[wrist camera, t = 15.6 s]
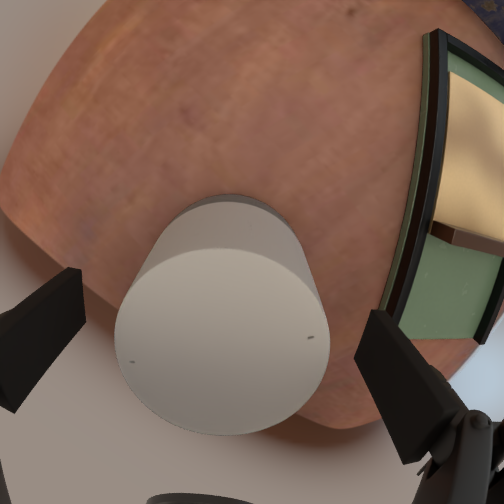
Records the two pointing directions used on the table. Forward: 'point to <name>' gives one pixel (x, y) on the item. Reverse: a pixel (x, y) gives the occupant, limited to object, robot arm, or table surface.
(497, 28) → the building
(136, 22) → the table surface
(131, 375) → the smart speaker
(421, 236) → the rail base
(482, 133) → the carriage
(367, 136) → the table surface
